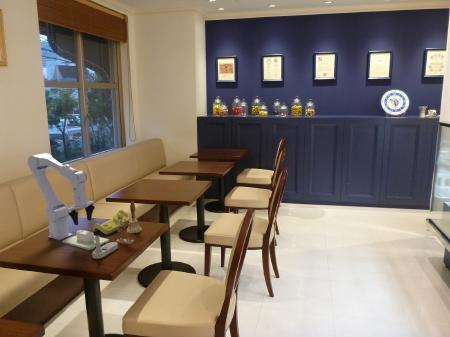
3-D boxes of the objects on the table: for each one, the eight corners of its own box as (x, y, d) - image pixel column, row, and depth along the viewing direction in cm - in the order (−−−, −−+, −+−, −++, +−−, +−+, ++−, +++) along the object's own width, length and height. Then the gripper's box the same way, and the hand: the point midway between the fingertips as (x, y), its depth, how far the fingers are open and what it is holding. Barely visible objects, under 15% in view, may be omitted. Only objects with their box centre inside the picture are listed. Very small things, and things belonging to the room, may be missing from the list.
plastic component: (108, 231, 192) (93, 221, 195) (105, 242, 196) (91, 232, 198) (132, 217, 210) (119, 208, 212) (129, 227, 213) (116, 218, 215)
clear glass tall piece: (115, 242, 183) (113, 219, 181) (120, 239, 187) (118, 217, 184) (130, 244, 180) (128, 221, 178) (135, 241, 183) (133, 218, 181)
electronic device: (118, 228, 177) (98, 238, 163) (120, 247, 178) (100, 260, 164) (109, 227, 178) (88, 237, 164) (110, 246, 180) (90, 258, 166)
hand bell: (128, 227, 203) (126, 199, 200) (143, 227, 203) (141, 199, 200) (124, 233, 195) (121, 204, 192) (139, 233, 195) (137, 203, 192)
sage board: (62, 242, 185) (62, 240, 185) (82, 234, 195) (82, 232, 195) (89, 250, 175) (88, 248, 175) (109, 241, 185) (109, 239, 185)
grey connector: (75, 239, 186) (74, 231, 185) (81, 237, 189) (80, 229, 188) (93, 244, 180) (92, 236, 179) (99, 241, 183) (98, 233, 182)
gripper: (72, 200, 175) (75, 228, 178) (97, 193, 187) (100, 219, 190) (63, 198, 179) (66, 225, 182) (88, 191, 191) (90, 217, 194)
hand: (82, 222), depth 186 cm, fingers open, 7 cm apart
